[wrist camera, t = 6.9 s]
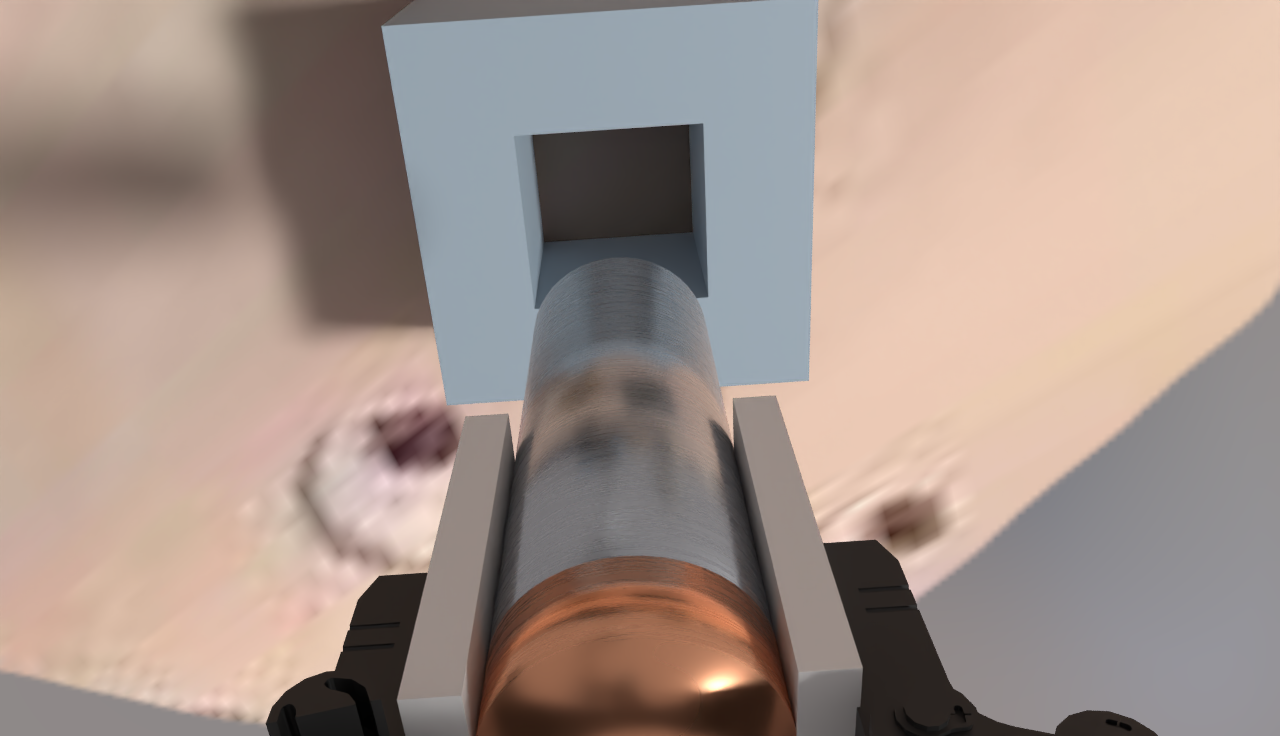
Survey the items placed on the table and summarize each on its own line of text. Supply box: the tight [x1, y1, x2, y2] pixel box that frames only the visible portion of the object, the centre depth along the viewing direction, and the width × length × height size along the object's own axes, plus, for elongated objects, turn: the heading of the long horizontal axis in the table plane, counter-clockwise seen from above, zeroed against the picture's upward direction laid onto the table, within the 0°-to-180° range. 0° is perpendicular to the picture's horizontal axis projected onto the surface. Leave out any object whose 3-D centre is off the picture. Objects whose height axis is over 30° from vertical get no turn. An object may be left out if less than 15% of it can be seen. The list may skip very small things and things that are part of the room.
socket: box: [381, 0, 818, 405], centre depth 32 cm, size 12×12×6 cm
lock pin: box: [476, 257, 796, 736], centre depth 17 cm, size 4×4×12 cm
